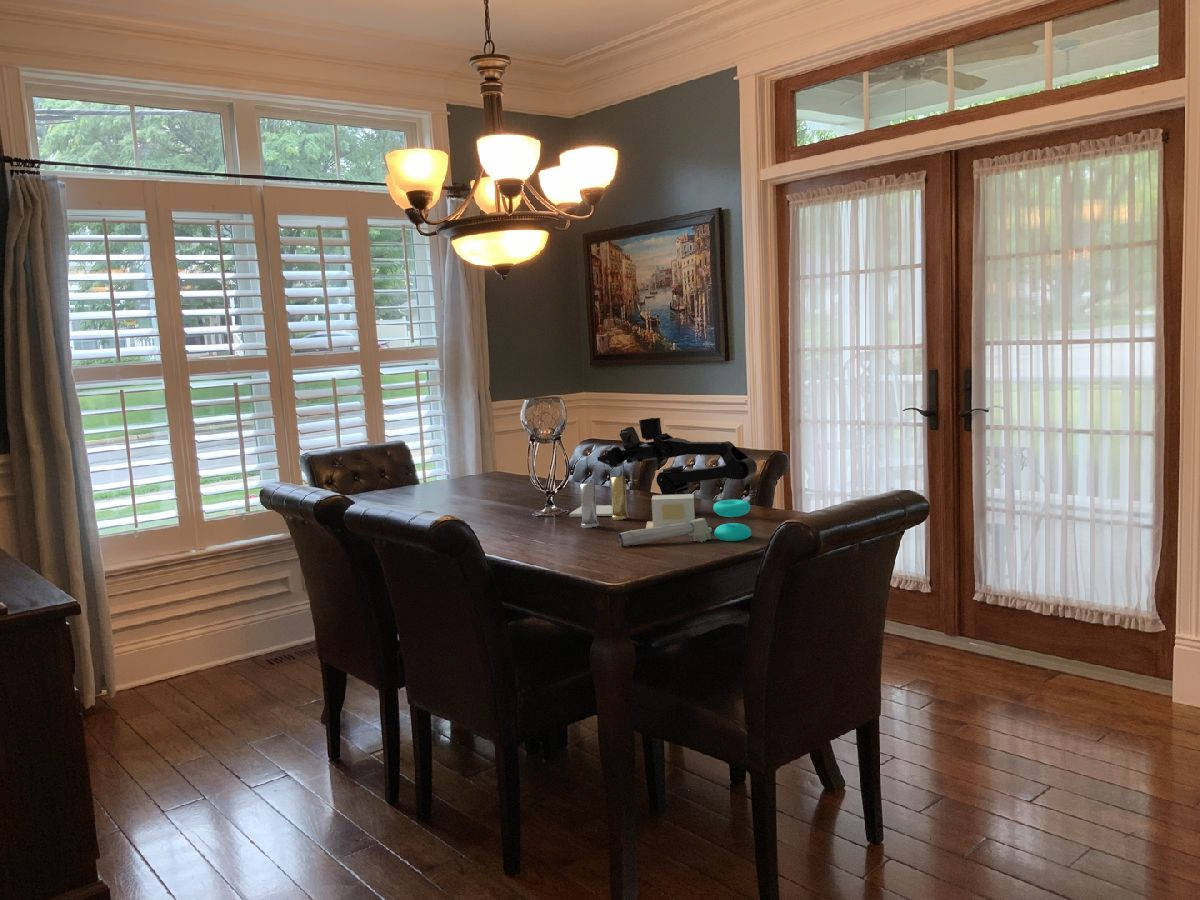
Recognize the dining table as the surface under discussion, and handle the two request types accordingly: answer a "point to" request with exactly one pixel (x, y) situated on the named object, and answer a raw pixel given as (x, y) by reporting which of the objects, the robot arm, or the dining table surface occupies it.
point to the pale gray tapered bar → (667, 532)
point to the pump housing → (671, 510)
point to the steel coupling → (588, 505)
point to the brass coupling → (619, 498)
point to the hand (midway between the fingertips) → (605, 457)
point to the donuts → (732, 529)
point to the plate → (600, 511)
